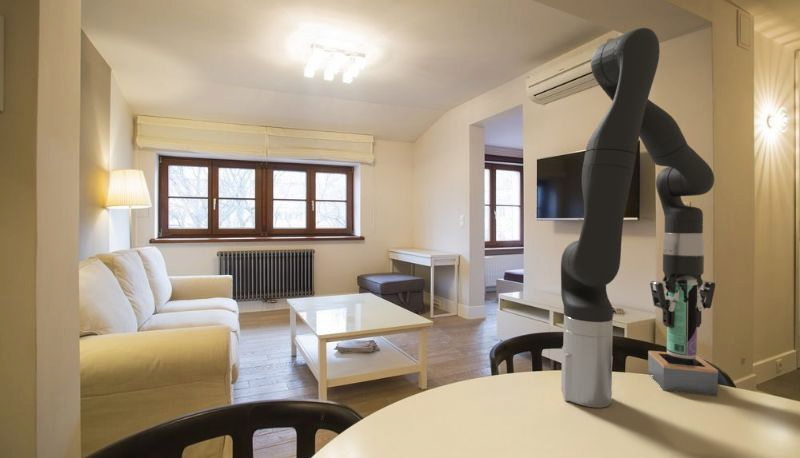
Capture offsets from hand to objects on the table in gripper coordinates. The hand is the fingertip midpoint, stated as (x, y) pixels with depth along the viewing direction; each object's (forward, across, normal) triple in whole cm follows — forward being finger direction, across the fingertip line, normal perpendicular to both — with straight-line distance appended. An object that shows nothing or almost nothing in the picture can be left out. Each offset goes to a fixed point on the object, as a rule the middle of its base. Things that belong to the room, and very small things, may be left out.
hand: (681, 326), depth 87 cm
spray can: (+7, 0, 0) cm, 7 cm away
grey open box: (+13, 0, 0) cm, 13 cm away
